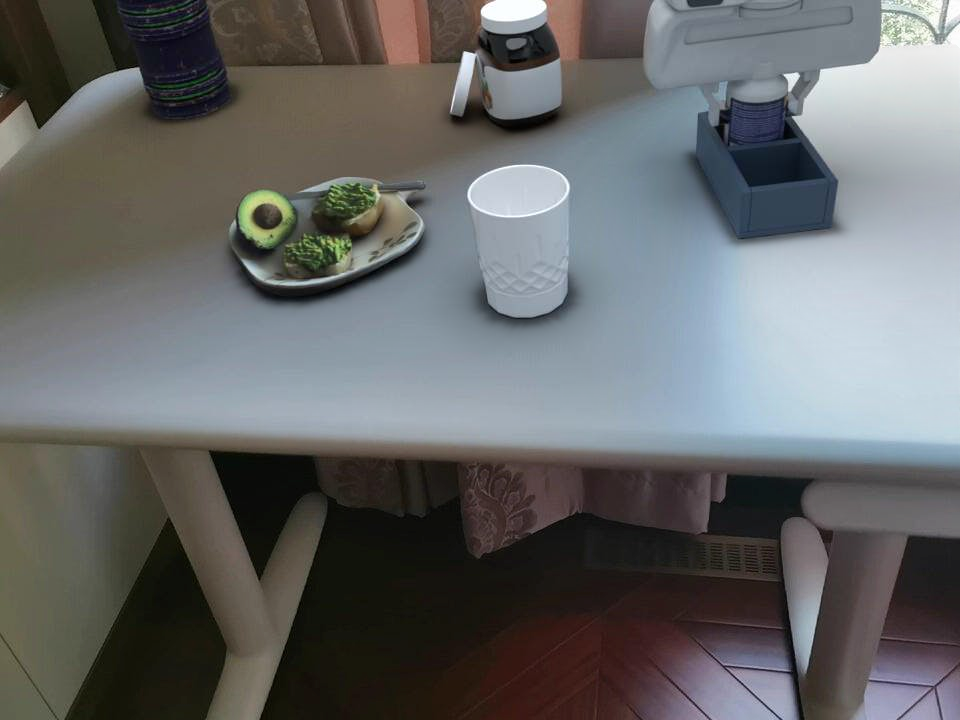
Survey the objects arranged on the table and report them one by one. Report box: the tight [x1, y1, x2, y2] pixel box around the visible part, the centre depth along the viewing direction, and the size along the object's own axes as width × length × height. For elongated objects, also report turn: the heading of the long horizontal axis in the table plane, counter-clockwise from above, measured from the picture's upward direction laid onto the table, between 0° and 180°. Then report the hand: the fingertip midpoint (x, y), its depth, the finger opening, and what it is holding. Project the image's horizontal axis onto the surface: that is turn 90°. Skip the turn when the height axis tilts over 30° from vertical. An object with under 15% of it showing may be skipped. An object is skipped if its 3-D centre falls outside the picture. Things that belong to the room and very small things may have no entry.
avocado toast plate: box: [228, 176, 426, 298], centre depth 89 cm, size 19×18×5 cm
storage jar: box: [115, 0, 233, 120], centre depth 111 cm, size 10×10×18 cm
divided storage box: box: [695, 110, 840, 240], centre depth 87 cm, size 8×15×5 cm, turn 4°
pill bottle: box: [723, 62, 789, 147], centre depth 87 cm, size 5×5×10 cm
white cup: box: [466, 164, 571, 318], centre depth 77 cm, size 8×8×10 cm
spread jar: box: [450, 0, 563, 128], centre depth 102 cm, size 12×11×12 cm
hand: (754, 118), depth 88 cm, fingers closed on pill bottle, 5 cm apart
